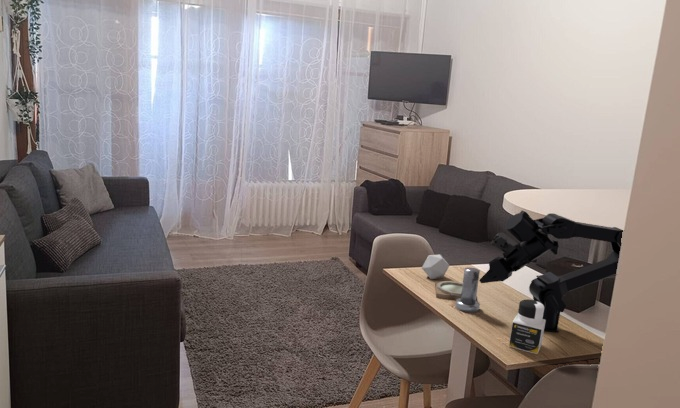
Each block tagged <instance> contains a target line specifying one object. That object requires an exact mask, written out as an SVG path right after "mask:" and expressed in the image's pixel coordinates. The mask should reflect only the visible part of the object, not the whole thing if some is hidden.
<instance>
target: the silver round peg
mask: <svg viewBox="0 0 680 408" xmlns="http://www.w3.org/2000/svg"><path fill="white" fill-rule="evenodd" d="M463 271H464V272H463V278H462V283H463V285H462V292H461V298H459V299H456V300H455V304H454V306H455V308H456V309H457V310H458V311H461V312H463V313H469V314H470V313H471V314H472V313H473V314H474V312H475V313H478V312H479V311H480V305H481V304H480V302H479V301H477V294H478V287H479V286H478V285H479V282H480V281H479V280H480V274H481V273H480V272H481V270H480V269H478V268H475V267H465V268H464V270H463Z"/></svg>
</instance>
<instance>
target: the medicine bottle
mask: <svg viewBox="0 0 680 408" xmlns="http://www.w3.org/2000/svg"><path fill="white" fill-rule="evenodd" d="M518 304H519V305H518V309H517V310H518V311H517V314H516V316H515V317H514V319H513V320H512V324H511V329H510V337H509V344H508V346H509V348H512V349H516V350H520V351H523V352H527V353H531V354H533V355H534V354H535V355H538V354H539V352H540V349H541V347H542V344H543V340H544V333H545V330H544V327H545V322H546V320H545V319H543V313H544V306H543V304H541V303H540V302H538V301H535V300H534V299H523V300H520V301H519V303H518Z"/></svg>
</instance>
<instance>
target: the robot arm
mask: <svg viewBox="0 0 680 408" xmlns="http://www.w3.org/2000/svg"><path fill="white" fill-rule="evenodd" d="M504 228H505V229H506V230H507V232H509V233H510V234H511V235H512V236H513V237H514V238H515V239H516V240H518V241H519V242H518V243H517V242H516V241H515V240H514V239H513V238H511V237H510V236H509V235H508V234H506V233H504V232H502V231H500V232H498V233H496V234H495V236H494V237H493V238H492V240H491V242H490V244H491V245H492V246H494V247H496V248H498V249H499V250H500V251H501V252H503V253H502V256H503V257H502V256H496V257H494V258H493V259H492V260H491V261H489V262H488V266H489V267H488V270H487V271H486V272H485V273H484V274H483V275H482V277H481V278H479V281H478V282H480V284H486V283H495V282H504V281H506V280H507V279H509V278H510V277H512V275H513V272H517V271H519V270H521V269H523V268H524V267H526V266H527V265H528V264H530V263H532V262H533V261H535V260H536V259H538V258H539V257H541V256H543V255H544V254H546V253H547V252H549V251H551V253H553V254H554V255H558V249H559V247H560V245H559V241H558V240H564V239H565V240H566V239H575V238H583V239H590V240H596V241H601V242H608V243H610V244H609V245H610V248H611V249H610V250H612V252H611V253H610V254H609V255H608V256H607V257H606V258H605V259H603V260H600V261H597V262H595V263H592V264H589V265H586V266H583V267H581V268H579V269H576V270H573V271H570V272H568V273H567V272H566V273H565V274H562V275H556V274H554V273H553V272H551V271H548V272H545V273H543V274H541V275H536V277H535V278H534V279H532V280H531V282H530V284H529V287H528V289H529V290H528V291H529V293H530V295H531V296H532V298H533V299H532V300H535V301H538V302H540V303H541V304H543V306H544V313H543V319H545V320H546V322H545V327H544V332H545V331H547V332H553V333H554V332H555V333H559V332H560V330H559V327H558V326H559V321H560V317H561V313H563V312H564V311H565V309H566V307H567V304H565V302H564V301H563V299H564V297H566V295H567V294H568V293H570V292H571V291H574V290H577V289H579V288H583V287H584V286H587V285H590V284H594V283H596V282H599V281H601V280H605V279H607V278H609V277H612V276H615V275H617V274H616V269H617V263H618V258H619V251H620V246H621V238H622V232H623V230H624V229H621V228H618V227H616V226H613V227H611V226H604V225H600V224H594V223H593V224H592V223H586V222H585V223H584V222H579V221H575V220H572V219H570V218H567V217H564V216H562V215H559V214H557V213H547V214H546V215H545V216H544V217H540V218H537V219H533V218H532V217H531V216H530V215H529V213H528V212H527V211H525V210H521V211H520V212H518V213H515V214H514V215H512V216H510V217H509V218H508V219H507V220H506V222H505V224H504ZM549 235H550V236H551V237H553V238H555V239H558V240H553V239H551V238H550V237H549Z"/></svg>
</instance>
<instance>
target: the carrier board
mask: <svg viewBox="0 0 680 408" xmlns="http://www.w3.org/2000/svg"><path fill="white" fill-rule="evenodd" d="M462 285H463V282H460V281H454V280H444V281H434V288H435V297H436V298H439V299H447V300H454V301H456V299H459V298H461V292H462Z"/></svg>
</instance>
